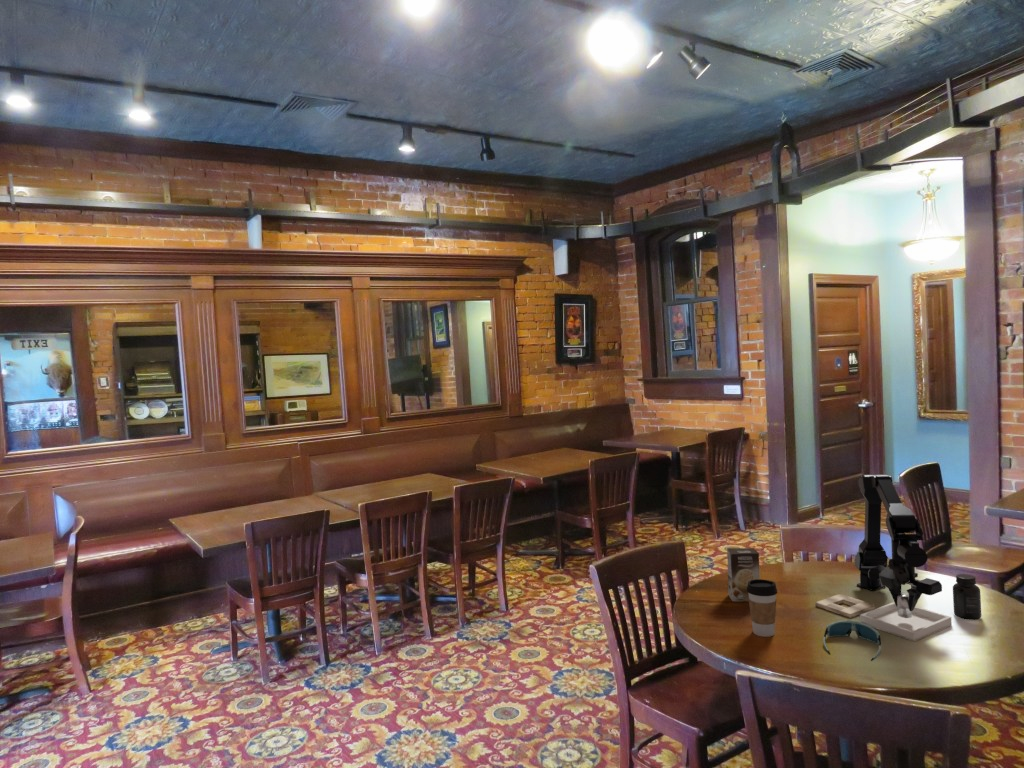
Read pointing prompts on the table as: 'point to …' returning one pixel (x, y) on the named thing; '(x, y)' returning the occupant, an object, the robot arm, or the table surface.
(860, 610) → the socket block
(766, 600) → the coffee cup
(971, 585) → the supplement bottle
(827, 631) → the sunglasses
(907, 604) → the steel pin
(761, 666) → the table surface
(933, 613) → the tray
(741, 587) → the coffee box
